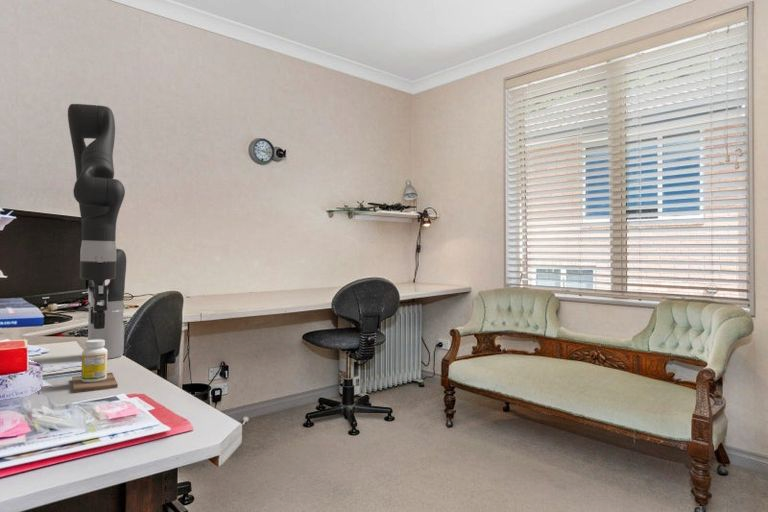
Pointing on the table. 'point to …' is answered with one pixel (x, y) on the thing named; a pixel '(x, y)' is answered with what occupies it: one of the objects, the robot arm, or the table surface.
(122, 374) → the table surface
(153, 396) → the table surface
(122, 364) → the table surface
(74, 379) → the walnut mat
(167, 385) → the table surface
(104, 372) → the supplement bottle
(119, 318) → the robot arm
